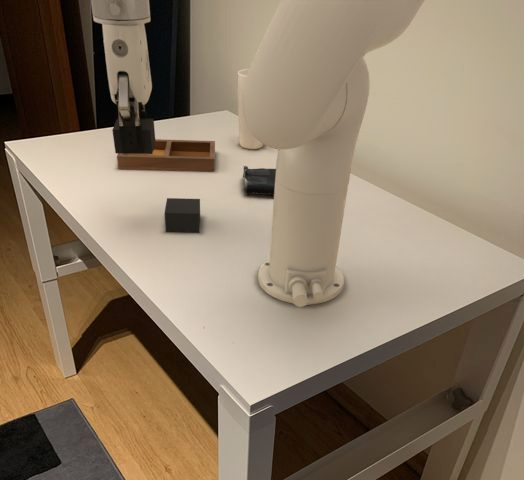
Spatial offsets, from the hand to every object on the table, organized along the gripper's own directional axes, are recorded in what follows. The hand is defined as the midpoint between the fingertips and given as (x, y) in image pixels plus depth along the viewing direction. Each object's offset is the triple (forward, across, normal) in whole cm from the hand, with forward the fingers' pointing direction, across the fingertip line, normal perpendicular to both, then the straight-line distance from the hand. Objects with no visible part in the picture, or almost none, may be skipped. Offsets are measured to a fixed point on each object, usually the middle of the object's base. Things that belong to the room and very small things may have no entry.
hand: (135, 143), depth 85 cm
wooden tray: (+13, +27, -2) cm, 30 cm away
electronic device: (+13, +14, -25) cm, 31 cm away
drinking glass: (+13, +37, -20) cm, 44 cm away
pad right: (+13, -1, -7) cm, 15 cm away
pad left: (+1, 0, 0) cm, 1 cm away
